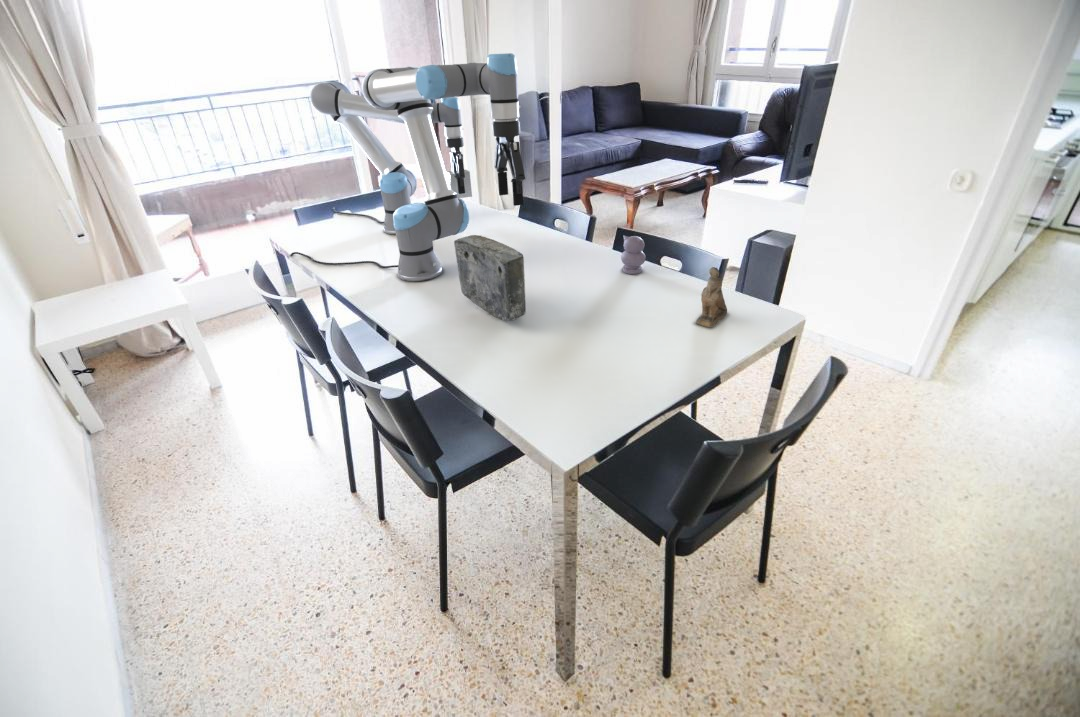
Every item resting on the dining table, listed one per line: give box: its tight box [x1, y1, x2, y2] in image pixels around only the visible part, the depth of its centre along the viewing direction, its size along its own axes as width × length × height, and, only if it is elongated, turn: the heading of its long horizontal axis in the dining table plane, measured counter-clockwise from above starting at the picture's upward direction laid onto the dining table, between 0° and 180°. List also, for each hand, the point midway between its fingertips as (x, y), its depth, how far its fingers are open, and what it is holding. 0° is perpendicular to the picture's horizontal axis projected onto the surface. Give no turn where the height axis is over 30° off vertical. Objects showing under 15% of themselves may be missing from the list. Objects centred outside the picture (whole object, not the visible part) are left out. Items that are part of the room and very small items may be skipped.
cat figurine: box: [620, 234, 646, 275], centre depth 168 cm, size 9×8×12 cm
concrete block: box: [453, 234, 527, 322], centre depth 143 cm, size 27×9×20 cm, turn 36°
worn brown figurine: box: [695, 266, 728, 328], centre depth 135 cm, size 12×6×18 cm, turn 136°
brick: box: [446, 169, 473, 199], centre depth 226 cm, size 9×6×11 cm, turn 113°
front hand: (510, 199), depth 146 cm, fingers open, 13 cm apart
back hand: (460, 191), depth 227 cm, fingers closed on brick, 5 cm apart
